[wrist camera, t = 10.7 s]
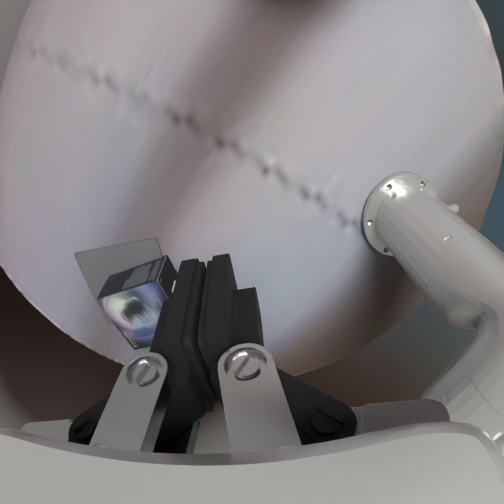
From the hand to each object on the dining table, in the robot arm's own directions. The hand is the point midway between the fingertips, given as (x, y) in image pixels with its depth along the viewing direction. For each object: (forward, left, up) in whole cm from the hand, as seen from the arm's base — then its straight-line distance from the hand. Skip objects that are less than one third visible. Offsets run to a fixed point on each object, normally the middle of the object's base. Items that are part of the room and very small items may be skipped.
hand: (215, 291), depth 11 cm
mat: (+19, +17, -27) cm, 37 cm away
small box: (+10, +18, -24) cm, 31 cm away
